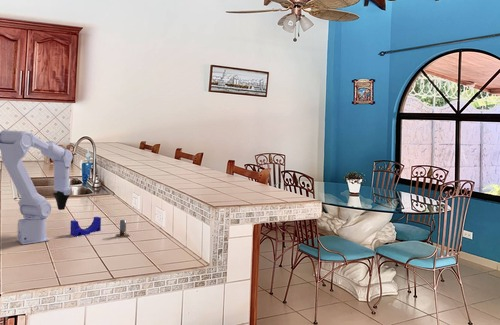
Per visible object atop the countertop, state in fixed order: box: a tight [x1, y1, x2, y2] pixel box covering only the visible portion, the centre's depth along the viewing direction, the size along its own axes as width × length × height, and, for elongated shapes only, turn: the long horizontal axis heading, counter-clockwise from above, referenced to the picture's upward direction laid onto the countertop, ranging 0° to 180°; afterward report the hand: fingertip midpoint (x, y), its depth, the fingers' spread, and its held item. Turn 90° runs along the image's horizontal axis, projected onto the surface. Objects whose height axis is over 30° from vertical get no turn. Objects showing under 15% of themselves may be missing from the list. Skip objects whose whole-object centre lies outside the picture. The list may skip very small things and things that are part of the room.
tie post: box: [115, 219, 130, 239], centre depth 166 cm, size 4×4×7 cm
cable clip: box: [70, 216, 102, 237], centre depth 168 cm, size 12×4×6 cm, turn 144°
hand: (61, 209), depth 167 cm, fingers closed
